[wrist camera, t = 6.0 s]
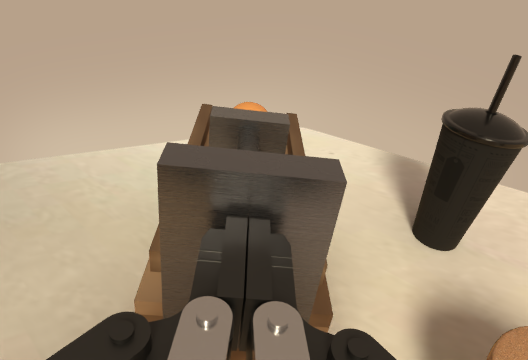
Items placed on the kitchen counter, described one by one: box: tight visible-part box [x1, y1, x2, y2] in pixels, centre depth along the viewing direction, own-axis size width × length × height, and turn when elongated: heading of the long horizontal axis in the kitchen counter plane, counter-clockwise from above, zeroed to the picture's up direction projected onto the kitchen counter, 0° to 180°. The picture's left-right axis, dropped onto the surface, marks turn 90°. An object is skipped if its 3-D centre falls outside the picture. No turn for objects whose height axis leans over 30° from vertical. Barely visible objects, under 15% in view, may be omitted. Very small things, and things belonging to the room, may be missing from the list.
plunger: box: [157, 106, 347, 348], centre depth 22 cm, size 6×18×9 cm, turn 0°
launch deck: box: [134, 104, 333, 360], centre depth 32 cm, size 10×24×12 cm, turn 0°
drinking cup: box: [413, 55, 528, 251], centre depth 38 cm, size 8×8×20 cm
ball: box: [234, 102, 267, 112], centre depth 33 cm, size 4×4×4 cm
